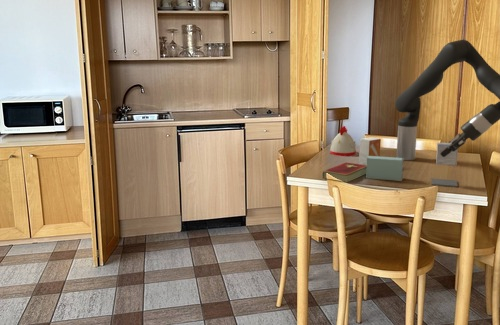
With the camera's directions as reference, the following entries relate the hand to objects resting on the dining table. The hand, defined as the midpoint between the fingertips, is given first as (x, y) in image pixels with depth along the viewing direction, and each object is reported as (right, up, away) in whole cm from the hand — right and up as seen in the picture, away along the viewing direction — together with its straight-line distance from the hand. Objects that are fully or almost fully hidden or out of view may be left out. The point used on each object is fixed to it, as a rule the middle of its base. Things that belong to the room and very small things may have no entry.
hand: (441, 154), depth 198 cm
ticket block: (-21, -10, +12) cm, 26 cm away
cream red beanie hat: (-29, +1, +64) cm, 70 cm away
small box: (-21, -5, +37) cm, 43 cm away
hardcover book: (-37, -10, +17) cm, 42 cm away
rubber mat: (+2, -12, +2) cm, 13 cm away
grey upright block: (+2, -4, 0) cm, 5 cm away
